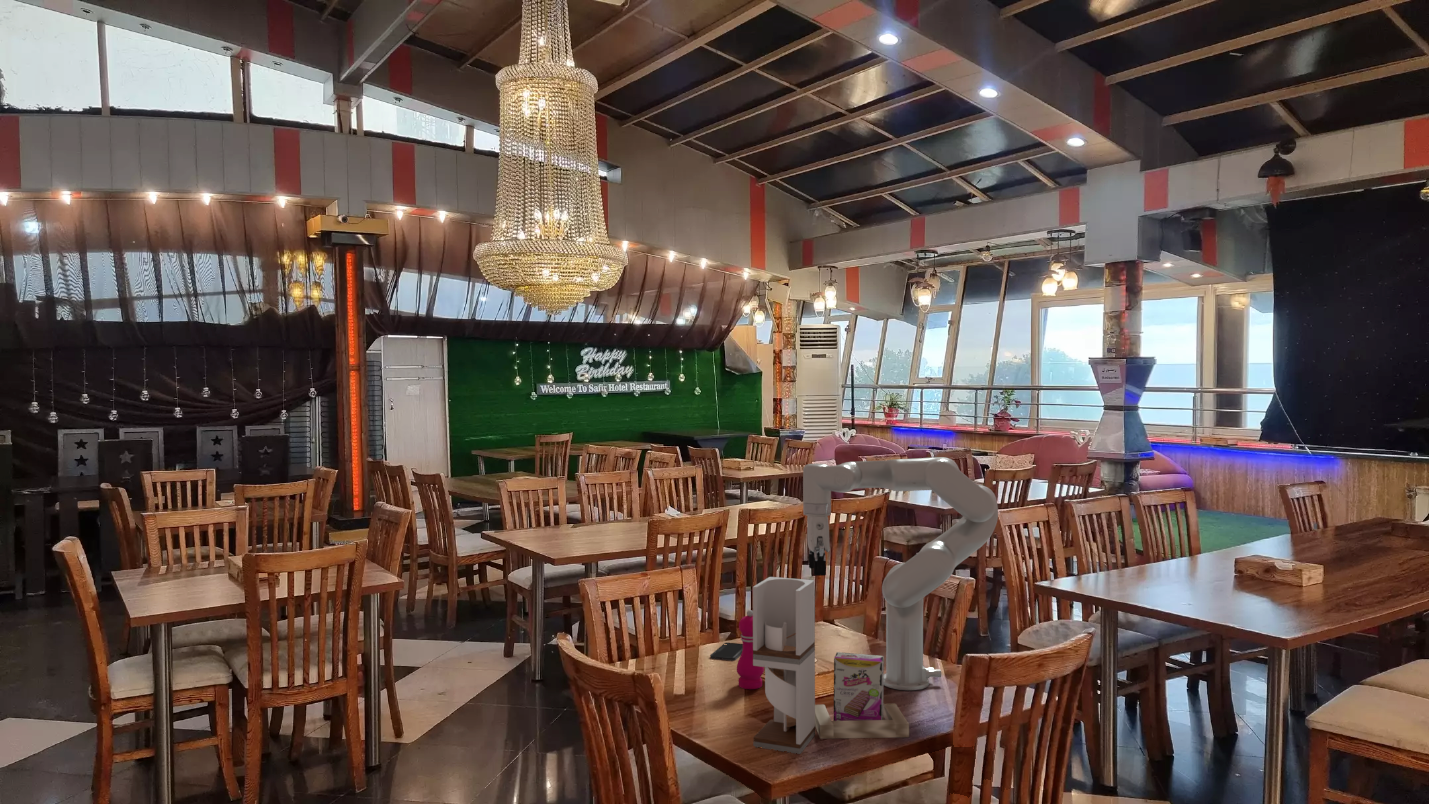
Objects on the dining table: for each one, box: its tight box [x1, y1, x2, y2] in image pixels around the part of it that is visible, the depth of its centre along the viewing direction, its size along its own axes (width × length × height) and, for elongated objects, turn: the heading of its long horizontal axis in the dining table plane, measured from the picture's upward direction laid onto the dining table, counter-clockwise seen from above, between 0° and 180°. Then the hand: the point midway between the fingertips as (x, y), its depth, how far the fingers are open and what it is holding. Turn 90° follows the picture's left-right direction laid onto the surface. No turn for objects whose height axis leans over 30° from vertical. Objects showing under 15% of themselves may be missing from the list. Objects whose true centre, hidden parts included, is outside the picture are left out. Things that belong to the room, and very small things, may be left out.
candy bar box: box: [833, 651, 885, 721], centre depth 205 cm, size 11×5×16 cm, turn 75°
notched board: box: [815, 703, 910, 740], centre depth 205 cm, size 20×13×3 cm, turn 92°
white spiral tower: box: [752, 576, 816, 755], centre depth 197 cm, size 11×11×35 cm
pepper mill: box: [736, 609, 765, 690], centre depth 234 cm, size 7×7×20 cm
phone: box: [709, 642, 743, 662], centre depth 264 cm, size 8×1×15 cm
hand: (817, 571), depth 242 cm, fingers open, 9 cm apart
